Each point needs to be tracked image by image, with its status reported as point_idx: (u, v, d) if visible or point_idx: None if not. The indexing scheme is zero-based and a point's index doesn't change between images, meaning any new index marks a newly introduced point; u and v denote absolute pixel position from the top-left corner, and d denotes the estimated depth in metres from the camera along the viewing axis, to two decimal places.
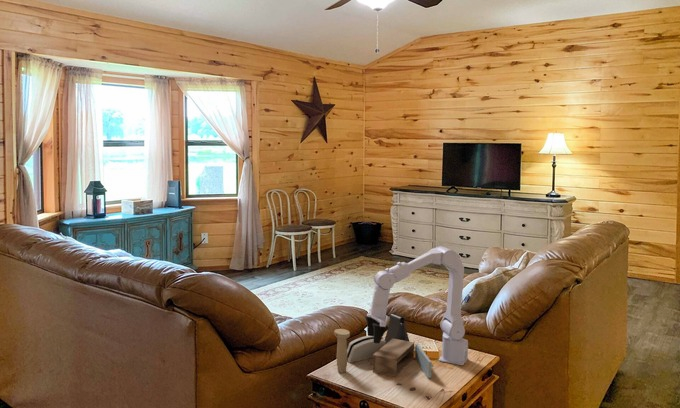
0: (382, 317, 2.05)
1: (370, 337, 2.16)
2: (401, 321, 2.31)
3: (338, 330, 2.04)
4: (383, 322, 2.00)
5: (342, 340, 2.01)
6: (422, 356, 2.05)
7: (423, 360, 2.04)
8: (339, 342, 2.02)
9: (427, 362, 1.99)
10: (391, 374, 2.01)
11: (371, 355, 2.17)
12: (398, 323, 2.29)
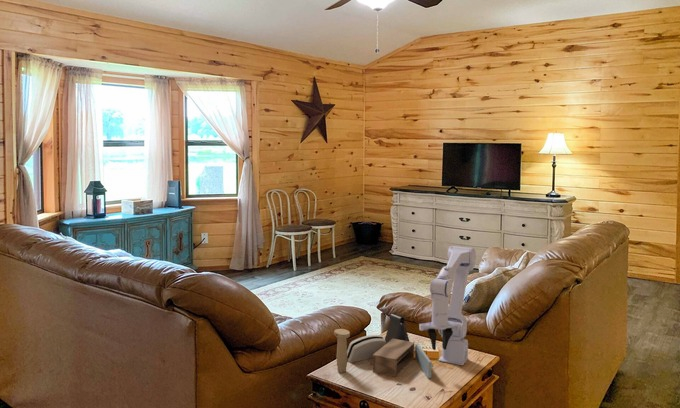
0: None
1: (370, 337, 2.16)
2: (401, 321, 2.31)
3: (338, 330, 2.04)
4: None
5: (342, 340, 2.01)
6: (422, 356, 2.05)
7: (423, 360, 2.04)
8: (339, 342, 2.02)
9: (427, 362, 1.99)
10: (391, 374, 2.01)
11: (371, 355, 2.17)
12: (398, 323, 2.29)
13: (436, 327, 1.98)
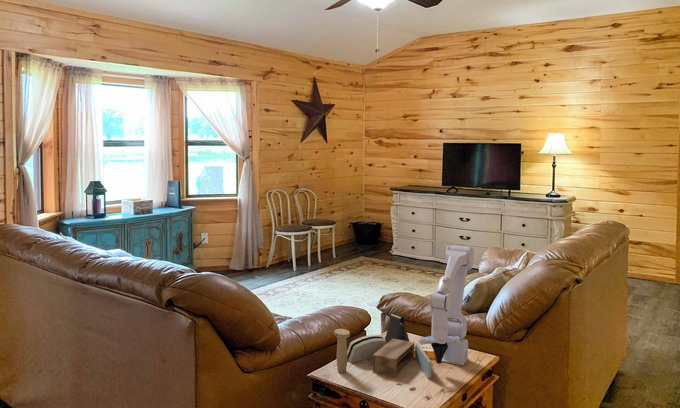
0: None
1: (370, 337, 2.16)
2: (401, 321, 2.31)
3: (338, 330, 2.04)
4: None
5: (342, 340, 2.01)
6: (422, 356, 2.05)
7: (423, 360, 2.04)
8: (339, 342, 2.02)
9: (427, 362, 1.99)
10: (391, 374, 2.01)
11: (371, 355, 2.17)
12: (398, 323, 2.29)
13: (436, 341, 1.99)
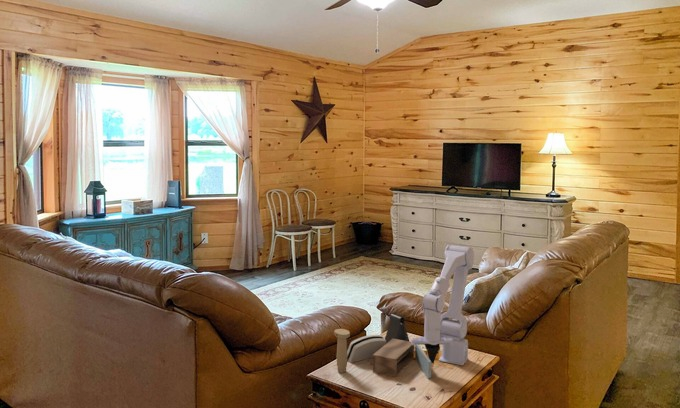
0: None
1: (371, 337, 2.16)
2: (401, 321, 2.31)
3: (338, 330, 2.04)
4: None
5: (342, 340, 2.01)
6: (422, 356, 2.05)
7: (423, 360, 2.04)
8: (339, 342, 2.02)
9: (427, 362, 1.99)
10: (391, 374, 2.01)
11: (371, 354, 2.17)
12: (398, 323, 2.29)
13: (427, 342, 1.98)
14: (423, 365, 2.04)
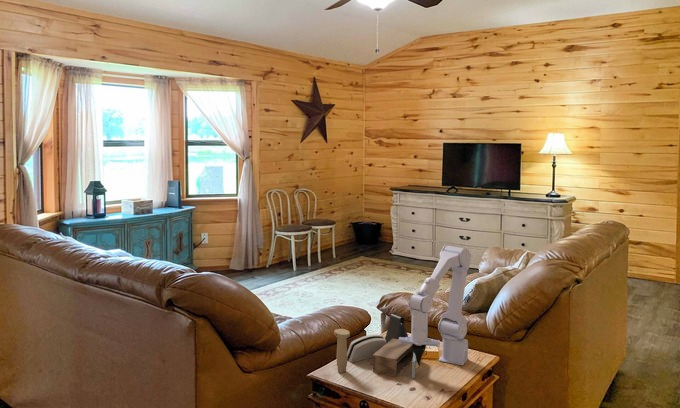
0: (427, 338, 2.01)
1: (371, 337, 2.16)
2: (401, 321, 2.31)
3: (338, 330, 2.04)
4: (439, 342, 1.99)
5: (342, 340, 2.01)
6: None
7: None
8: (339, 342, 2.02)
9: None
10: (391, 374, 2.01)
11: (372, 354, 2.17)
12: (398, 323, 2.29)
13: (413, 342, 1.98)
14: None
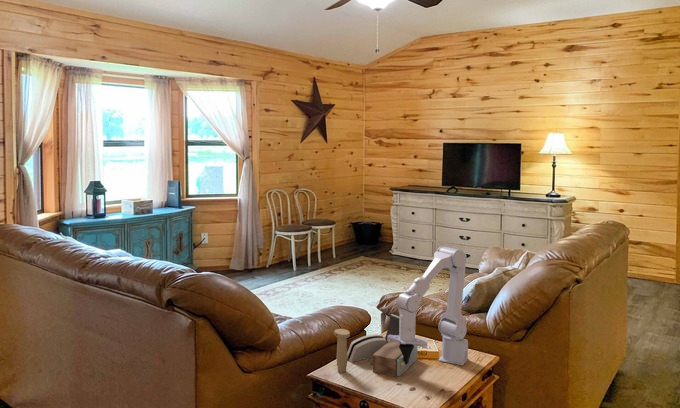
0: (415, 338, 2.01)
1: (371, 336, 2.16)
2: None
3: (338, 330, 2.04)
4: (426, 343, 1.98)
5: (342, 340, 2.01)
6: None
7: None
8: (339, 342, 2.02)
9: None
10: (391, 374, 2.01)
11: (372, 354, 2.18)
12: (398, 323, 2.29)
13: (399, 340, 2.00)
14: None
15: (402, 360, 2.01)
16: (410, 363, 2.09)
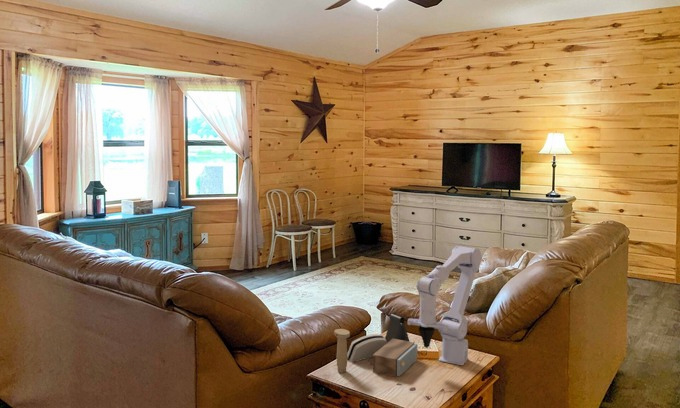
0: (435, 322, 2.02)
1: (371, 336, 2.17)
2: (401, 321, 2.31)
3: (338, 330, 2.04)
4: (446, 326, 2.00)
5: (342, 340, 2.01)
6: None
7: None
8: (339, 342, 2.02)
9: None
10: (391, 374, 2.01)
11: (372, 354, 2.18)
12: (398, 323, 2.29)
13: (419, 324, 2.02)
14: None
15: (402, 360, 2.01)
16: (410, 363, 2.09)
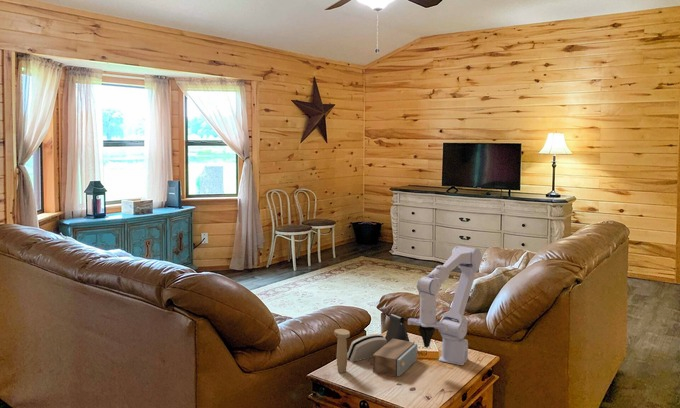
0: (435, 322, 2.02)
1: (371, 336, 2.17)
2: (401, 321, 2.31)
3: (338, 330, 2.04)
4: (446, 326, 2.00)
5: (342, 340, 2.01)
6: None
7: None
8: (339, 342, 2.02)
9: None
10: (391, 374, 2.01)
11: (372, 354, 2.18)
12: (398, 323, 2.29)
13: (420, 324, 2.02)
14: None
15: (402, 360, 2.01)
16: (410, 363, 2.09)
